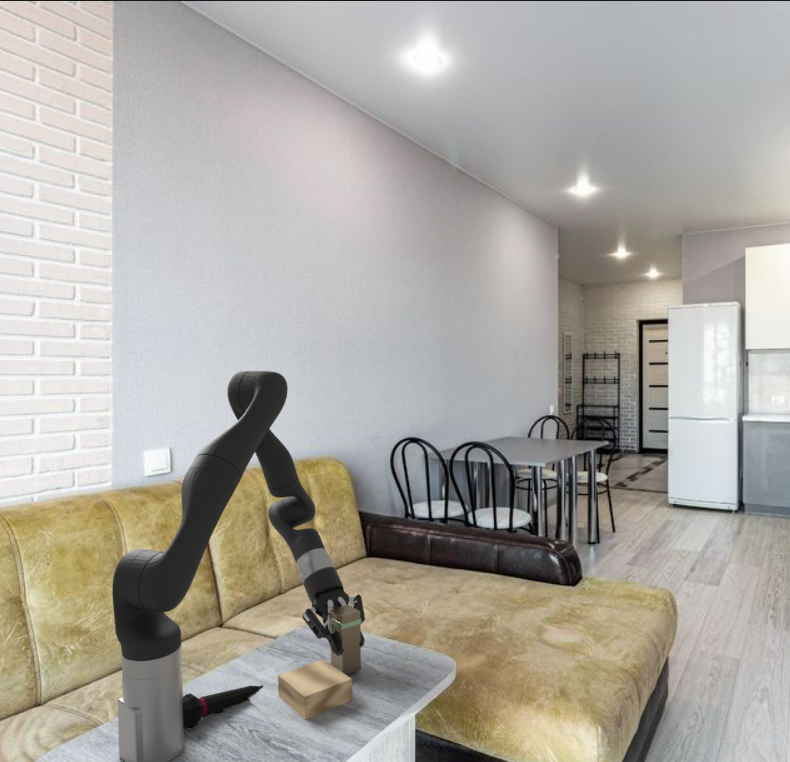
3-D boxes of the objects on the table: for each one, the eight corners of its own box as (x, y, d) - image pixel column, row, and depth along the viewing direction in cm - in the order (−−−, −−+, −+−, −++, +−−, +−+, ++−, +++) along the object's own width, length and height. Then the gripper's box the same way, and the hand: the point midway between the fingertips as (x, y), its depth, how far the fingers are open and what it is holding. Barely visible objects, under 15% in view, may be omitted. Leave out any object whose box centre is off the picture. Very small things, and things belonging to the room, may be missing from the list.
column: (342, 677, 125) (341, 617, 124) (329, 668, 128) (329, 610, 128) (361, 669, 127) (361, 611, 127) (349, 661, 131) (348, 604, 131)
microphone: (262, 701, 125) (167, 733, 110) (259, 670, 126) (165, 697, 112) (279, 702, 121) (183, 735, 107) (276, 670, 123) (181, 698, 108)
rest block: (305, 724, 111) (304, 696, 111) (278, 701, 119) (278, 675, 119) (352, 705, 117) (351, 678, 117) (324, 684, 125) (323, 659, 125)
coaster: (339, 694, 121) (339, 688, 121) (312, 674, 129) (312, 669, 129) (381, 677, 127) (380, 672, 127) (353, 659, 135) (353, 655, 135)
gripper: (295, 573, 129) (327, 652, 120) (353, 559, 138) (387, 632, 128) (283, 591, 133) (313, 669, 124) (340, 577, 142) (372, 648, 133)
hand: (350, 649), depth 126 cm, fingers closed on column, 4 cm apart
